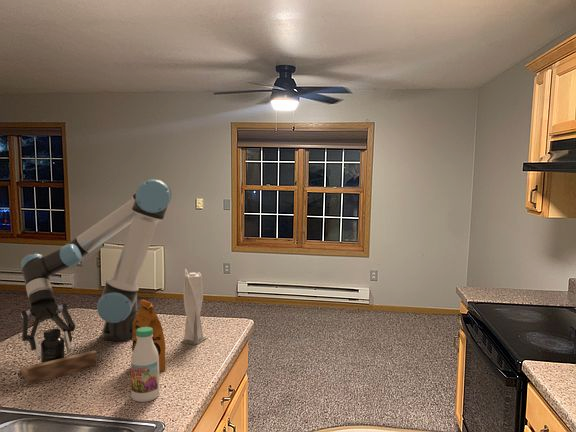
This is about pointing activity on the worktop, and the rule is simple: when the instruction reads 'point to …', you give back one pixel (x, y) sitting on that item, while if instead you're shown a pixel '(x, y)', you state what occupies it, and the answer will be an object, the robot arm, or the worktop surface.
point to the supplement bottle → (52, 346)
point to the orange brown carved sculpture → (150, 319)
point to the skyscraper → (193, 308)
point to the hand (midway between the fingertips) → (54, 354)
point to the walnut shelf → (59, 367)
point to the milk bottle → (144, 367)
